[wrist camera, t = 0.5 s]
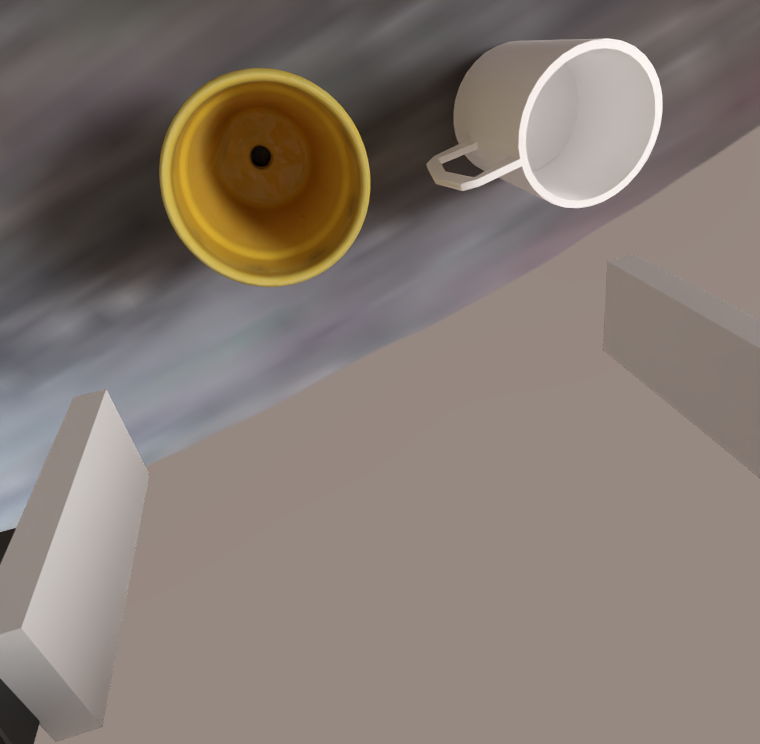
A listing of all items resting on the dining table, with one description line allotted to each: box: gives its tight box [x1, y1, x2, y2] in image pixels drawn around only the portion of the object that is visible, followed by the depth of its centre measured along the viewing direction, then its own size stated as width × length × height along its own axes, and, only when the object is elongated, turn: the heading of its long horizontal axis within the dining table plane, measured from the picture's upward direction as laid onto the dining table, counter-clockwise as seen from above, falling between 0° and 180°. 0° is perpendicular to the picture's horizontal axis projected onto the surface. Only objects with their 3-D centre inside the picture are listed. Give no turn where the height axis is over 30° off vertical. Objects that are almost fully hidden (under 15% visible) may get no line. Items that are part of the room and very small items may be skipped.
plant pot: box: [159, 68, 370, 287], centre depth 32 cm, size 10×10×10 cm
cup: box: [426, 39, 662, 208], centre depth 34 cm, size 8×12×10 cm
